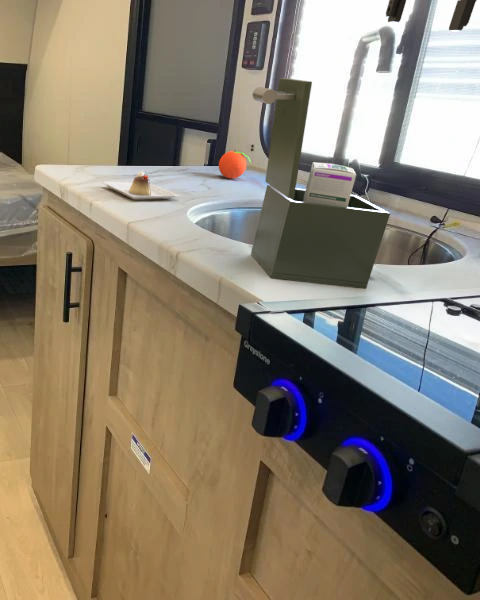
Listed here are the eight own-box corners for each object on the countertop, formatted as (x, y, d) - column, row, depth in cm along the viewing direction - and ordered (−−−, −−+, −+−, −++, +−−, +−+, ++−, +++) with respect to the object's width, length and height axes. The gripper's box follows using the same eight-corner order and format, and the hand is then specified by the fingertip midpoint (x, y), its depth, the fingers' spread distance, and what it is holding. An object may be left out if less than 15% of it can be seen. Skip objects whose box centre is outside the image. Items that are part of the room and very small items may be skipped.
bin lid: (285, 78, 83) (248, 77, 83) (312, 81, 73) (271, 80, 73) (270, 182, 88) (236, 181, 88) (294, 198, 78) (256, 197, 78)
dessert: (180, 201, 122) (184, 177, 120) (131, 201, 116) (135, 177, 114) (146, 187, 132) (150, 165, 130) (100, 187, 126) (103, 164, 124)
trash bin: (336, 263, 93) (356, 195, 89) (366, 288, 83) (390, 213, 79) (250, 254, 93) (267, 184, 88) (270, 278, 83) (290, 201, 79)
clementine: (248, 179, 157) (254, 152, 154) (245, 183, 150) (252, 155, 148) (218, 174, 159) (223, 147, 156) (214, 177, 153) (219, 149, 150)
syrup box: (329, 275, 84) (360, 172, 79) (286, 266, 86) (313, 165, 80) (327, 264, 89) (356, 167, 84) (287, 256, 91) (312, 160, 85)
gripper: (429, -134, 70) (385, 18, 76) (545, -117, 71) (493, 32, 77) (397, -117, 77) (360, 21, 83) (504, -102, 77) (459, 34, 84)
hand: (424, 26), depth 80 cm, fingers open, 8 cm apart
